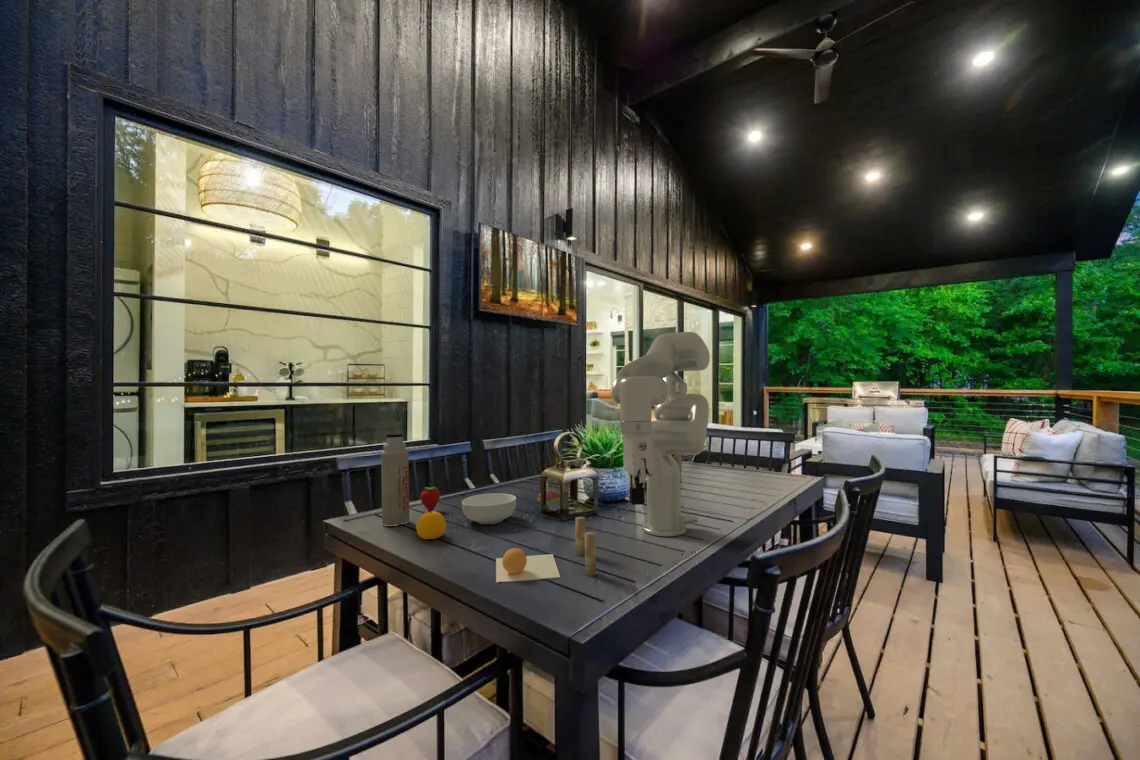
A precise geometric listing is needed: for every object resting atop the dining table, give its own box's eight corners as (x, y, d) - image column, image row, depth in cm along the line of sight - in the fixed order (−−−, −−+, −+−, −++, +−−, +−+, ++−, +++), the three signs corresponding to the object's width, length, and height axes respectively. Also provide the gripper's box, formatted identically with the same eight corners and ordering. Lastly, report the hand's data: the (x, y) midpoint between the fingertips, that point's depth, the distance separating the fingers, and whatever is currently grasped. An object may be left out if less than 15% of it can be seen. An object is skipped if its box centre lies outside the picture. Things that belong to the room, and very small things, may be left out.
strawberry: (416, 514, 157) (415, 484, 157) (429, 508, 164) (429, 479, 164) (431, 515, 155) (431, 485, 155) (444, 509, 162) (443, 480, 162)
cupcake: (554, 515, 153) (553, 478, 153) (532, 512, 157) (531, 476, 157) (567, 508, 160) (566, 473, 160) (546, 506, 164) (545, 471, 165)
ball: (513, 574, 109) (530, 556, 110) (514, 582, 104) (532, 564, 105) (496, 557, 109) (514, 540, 110) (497, 565, 103) (515, 546, 104)
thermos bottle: (414, 521, 148) (413, 432, 148) (393, 528, 142) (391, 435, 142) (398, 518, 153) (397, 431, 153) (376, 524, 146) (375, 434, 146)
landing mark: (552, 554, 118) (552, 554, 118) (560, 577, 104) (560, 576, 104) (496, 559, 115) (496, 558, 115) (496, 582, 102) (496, 582, 102)
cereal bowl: (507, 511, 159) (507, 490, 159) (524, 524, 144) (523, 501, 144) (456, 518, 151) (456, 496, 152) (469, 532, 136) (468, 508, 137)
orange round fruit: (422, 544, 127) (422, 517, 127) (412, 537, 133) (412, 511, 133) (450, 538, 132) (450, 511, 132) (439, 531, 138) (439, 506, 138)
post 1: (584, 552, 119) (584, 516, 119) (586, 555, 117) (585, 519, 117) (575, 552, 119) (574, 517, 119) (576, 556, 116) (576, 519, 116)
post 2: (594, 571, 107) (594, 531, 107) (597, 575, 105) (596, 535, 105) (584, 572, 107) (583, 532, 107) (586, 576, 104) (585, 535, 104)
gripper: (661, 430, 107) (662, 511, 107) (641, 424, 122) (642, 495, 122) (629, 431, 106) (631, 512, 106) (613, 425, 121) (614, 497, 121)
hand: (637, 503), depth 114 cm, fingers closed
